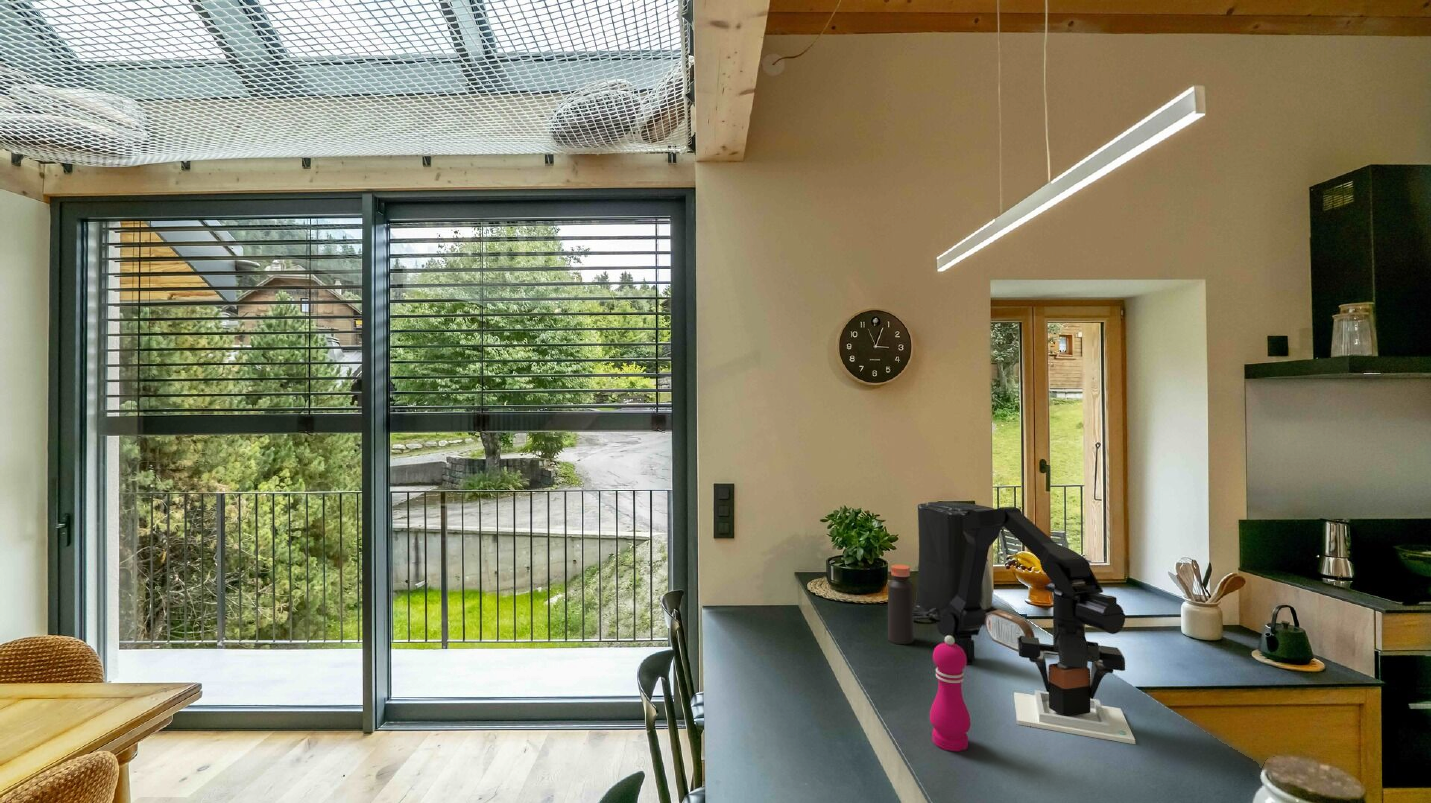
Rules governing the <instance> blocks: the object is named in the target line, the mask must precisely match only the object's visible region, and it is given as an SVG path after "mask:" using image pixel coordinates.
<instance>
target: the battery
mask: <svg viewBox="0 0 1431 803" xmlns="http://www.w3.org/2000/svg"><path fill="white" fill-rule="evenodd" d="M1090 679H1091V668H1090V667H1089V666H1087V668H1079V667H1075V666H1063V665H1062V664H1060V662H1059V661H1058V662H1056V663H1050V664H1048V682H1049V708H1050V709H1052V710H1053V711H1055V712H1057V713H1059V714H1060V715H1062V716H1067V717H1068V716H1074V715H1080V714H1086V713H1090V699H1091V698H1090Z"/></svg>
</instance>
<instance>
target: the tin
mask: <svg viewBox="0 0 1431 803" xmlns="http://www.w3.org/2000/svg"><path fill="white" fill-rule="evenodd" d="M984 624H985V629H986V632H987V634H988V636H989V637H990V638H991V639H992V640H993V641H994V642H996V643H998V644H1000V645H1002V644H1003V646H1005V647H1007V648H1009V649H1011V650H1013V651H1015V650H1016V652H1018V638H1019V637H1020V636H1028V637H1036V636H1035V633H1034V630H1033V628H1032V626H1031V625H1030V624H1029V622H1028V621H1026V620H1025V619H1023V618H1021V617H1019V616H1016V615H1014V614H1011V613H1008V612H1006V611H1004V610H1001V609H998V610H995V611H992V612H989V613H988V614H987V615H986V617H985V618H984Z"/></svg>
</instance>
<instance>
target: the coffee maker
mask: <svg viewBox="0 0 1431 803" xmlns="http://www.w3.org/2000/svg"><path fill="white" fill-rule="evenodd" d="M978 509H995V508H993V507H990V506H987V505H986V506H985V505H980V504H973V503H967V502H965V503H964V502H955V501H953V502H952V501H930V502H926V503H919V504H918V505H917V522H918V523H917V525H918V564H917V565H918V568H917V579H916V593H915V606H914V621H915V620H917V621H918V620H919V621H920V620H930V619H933V620H937V621H939V622H940V621H941V620H942V619H943V618H944V617H945V616H946V612H947V609H948V606H949V604H950V602H951V601H952V600H953V599H954V598H955V597H956V596H957V594H958V590H959V584H960V579H961V574H962V568H963V563H964V558H965V553H966V547H967V539H966V537H965V535H964V533H963V520H964V515H965V513H966V512H968V511H969V510H978ZM992 581H993V580H992V575H991V569H990V562H989V560H988V558H987V561H986V566H985V571H984V576H983V581H982V586H981V591H980V596H979V602H980V604H981V607H982V609H984V610H986V615H987V614H988V613H989V612H992V611H995V610H999V609H998V608H996V607H994V606H993V583H992ZM986 615H985V618H986Z"/></svg>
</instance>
